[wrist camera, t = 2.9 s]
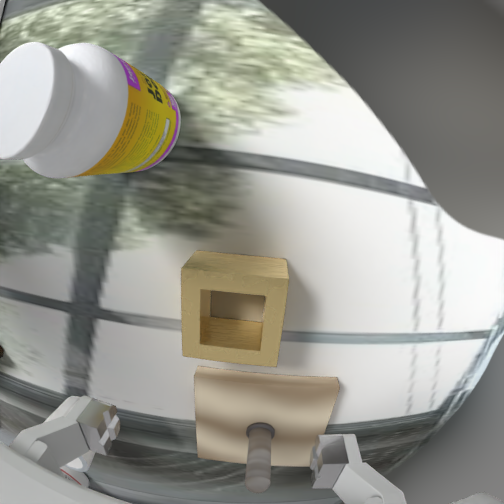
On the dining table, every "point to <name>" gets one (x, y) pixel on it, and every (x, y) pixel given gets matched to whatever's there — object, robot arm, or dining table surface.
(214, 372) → the post stand
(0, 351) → the hand tool
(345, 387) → the dining table surface
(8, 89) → the supplement bottle
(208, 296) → the tan square frame block
